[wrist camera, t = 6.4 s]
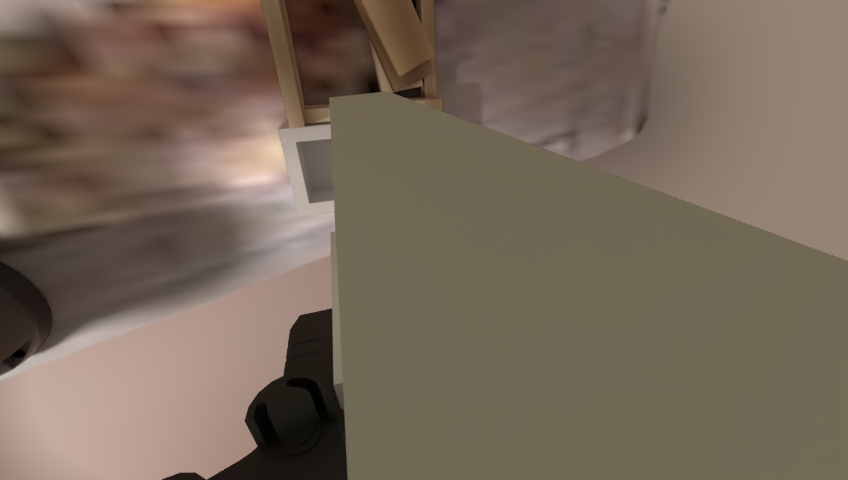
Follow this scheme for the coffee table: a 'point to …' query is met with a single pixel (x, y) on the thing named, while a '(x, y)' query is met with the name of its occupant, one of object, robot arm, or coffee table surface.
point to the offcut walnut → (394, 81)
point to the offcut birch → (381, 76)
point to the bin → (309, 166)
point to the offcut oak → (399, 33)
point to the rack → (289, 69)
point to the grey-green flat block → (568, 318)
